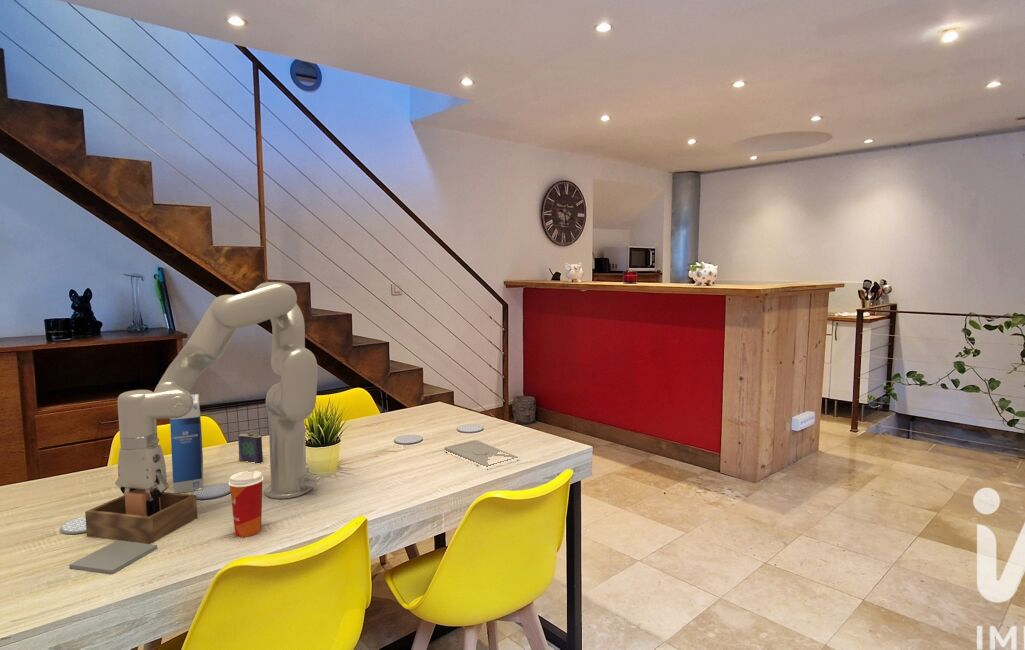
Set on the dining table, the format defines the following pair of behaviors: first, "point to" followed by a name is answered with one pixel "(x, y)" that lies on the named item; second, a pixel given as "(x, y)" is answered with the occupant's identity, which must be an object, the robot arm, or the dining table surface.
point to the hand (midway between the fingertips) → (143, 513)
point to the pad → (113, 557)
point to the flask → (250, 447)
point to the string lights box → (187, 450)
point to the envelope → (477, 452)
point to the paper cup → (246, 502)
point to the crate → (140, 519)
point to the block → (137, 502)
